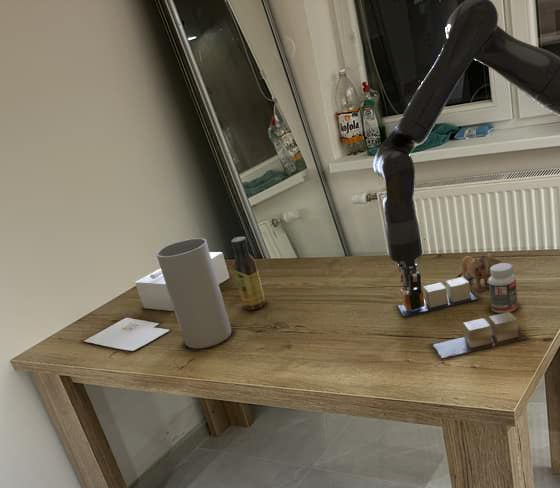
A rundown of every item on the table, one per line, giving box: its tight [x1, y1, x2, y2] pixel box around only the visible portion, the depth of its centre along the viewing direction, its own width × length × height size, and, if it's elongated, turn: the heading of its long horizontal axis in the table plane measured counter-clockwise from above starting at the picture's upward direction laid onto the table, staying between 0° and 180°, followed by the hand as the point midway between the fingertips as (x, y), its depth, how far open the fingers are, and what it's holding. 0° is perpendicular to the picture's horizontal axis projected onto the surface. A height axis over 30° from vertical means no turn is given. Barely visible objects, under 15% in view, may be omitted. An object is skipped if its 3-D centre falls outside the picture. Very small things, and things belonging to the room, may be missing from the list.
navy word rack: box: [397, 276, 478, 318], centre depth 163 cm, size 18×7×4 cm, turn 94°
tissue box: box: [134, 251, 231, 312], centre depth 211 cm, size 14×25×11 cm, turn 142°
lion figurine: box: [456, 253, 502, 292], centre depth 166 cm, size 15×5×9 cm, turn 27°
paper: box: [83, 317, 170, 352], centre depth 192 cm, size 25×17×1 cm
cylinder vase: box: [156, 237, 232, 350], centre depth 171 cm, size 12×12×25 cm
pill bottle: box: [488, 262, 518, 314], centre depth 151 cm, size 6×6×10 cm
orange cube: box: [399, 287, 425, 310], centre depth 163 cm, size 4×4×4 cm
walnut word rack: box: [432, 312, 527, 360], centre depth 141 cm, size 18×7×4 cm, turn 94°
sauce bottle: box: [230, 236, 266, 311], centre depth 185 cm, size 7×6×20 cm
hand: (413, 304), depth 163 cm, fingers closed on orange cube, 4 cm apart
